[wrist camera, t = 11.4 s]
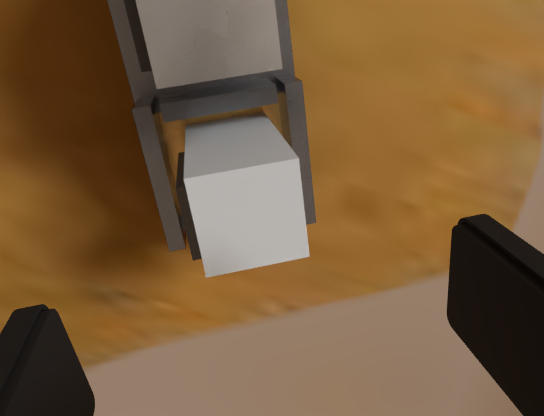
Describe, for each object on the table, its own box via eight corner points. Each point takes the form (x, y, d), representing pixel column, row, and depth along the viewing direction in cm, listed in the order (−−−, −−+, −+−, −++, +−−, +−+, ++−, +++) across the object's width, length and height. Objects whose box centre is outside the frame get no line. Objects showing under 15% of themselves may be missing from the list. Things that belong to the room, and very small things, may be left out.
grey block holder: (78, -140, 19) (-25, -282, 10) (260, -160, 20) (321, -308, 11) (170, 218, 26) (159, 326, 17) (300, 193, 27) (356, 283, 18)
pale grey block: (177, 126, 22) (171, 181, 15) (263, 111, 22) (298, 158, 15) (194, 198, 24) (195, 279, 16) (273, 183, 24) (309, 256, 17)
